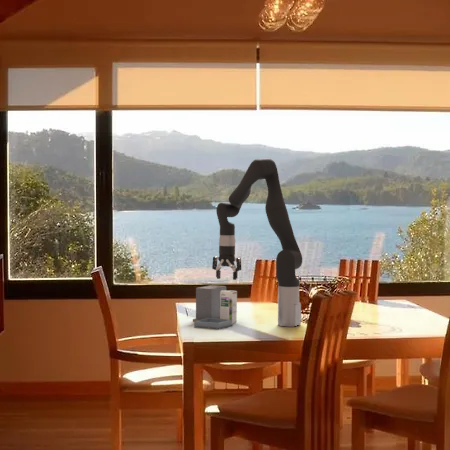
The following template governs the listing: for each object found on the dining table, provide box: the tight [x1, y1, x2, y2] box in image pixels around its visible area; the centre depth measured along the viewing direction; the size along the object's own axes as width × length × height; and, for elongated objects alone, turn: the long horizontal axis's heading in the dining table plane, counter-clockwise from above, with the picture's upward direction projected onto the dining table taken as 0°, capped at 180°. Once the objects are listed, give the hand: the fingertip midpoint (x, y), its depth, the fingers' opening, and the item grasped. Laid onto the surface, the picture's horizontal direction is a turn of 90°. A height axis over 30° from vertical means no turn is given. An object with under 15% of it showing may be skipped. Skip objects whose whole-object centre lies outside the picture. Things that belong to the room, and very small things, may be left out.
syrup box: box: [220, 289, 238, 325], centre depth 367 cm, size 6×6×14 cm
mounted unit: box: [192, 284, 227, 322], centre depth 376 cm, size 10×16×15 cm, turn 152°
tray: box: [193, 318, 233, 330], centre depth 357 cm, size 12×12×2 cm
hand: (226, 279), depth 389 cm, fingers open, 8 cm apart
